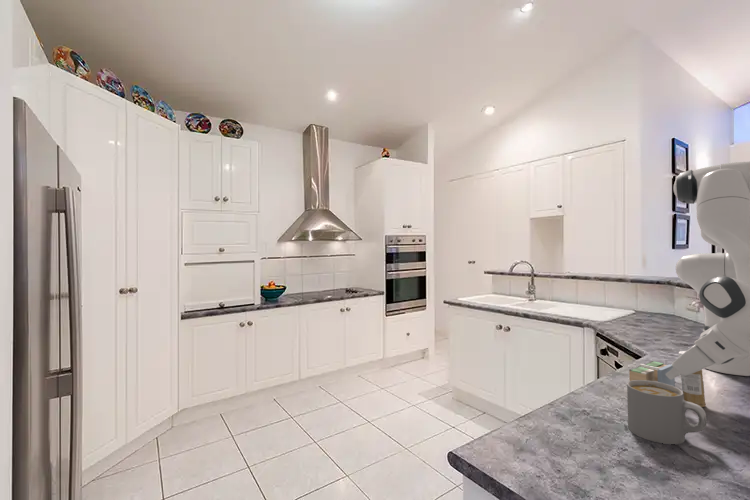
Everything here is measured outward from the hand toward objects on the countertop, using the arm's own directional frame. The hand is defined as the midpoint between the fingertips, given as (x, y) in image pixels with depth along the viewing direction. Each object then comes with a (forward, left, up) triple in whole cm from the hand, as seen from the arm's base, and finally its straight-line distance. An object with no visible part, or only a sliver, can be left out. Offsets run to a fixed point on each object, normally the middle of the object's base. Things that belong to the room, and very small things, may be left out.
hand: (676, 373), depth 97 cm
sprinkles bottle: (0, +4, -7) cm, 8 cm away
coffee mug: (+25, +6, -7) cm, 27 cm away
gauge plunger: (0, -4, -7) cm, 8 cm away
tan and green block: (0, -6, -7) cm, 9 cm away
